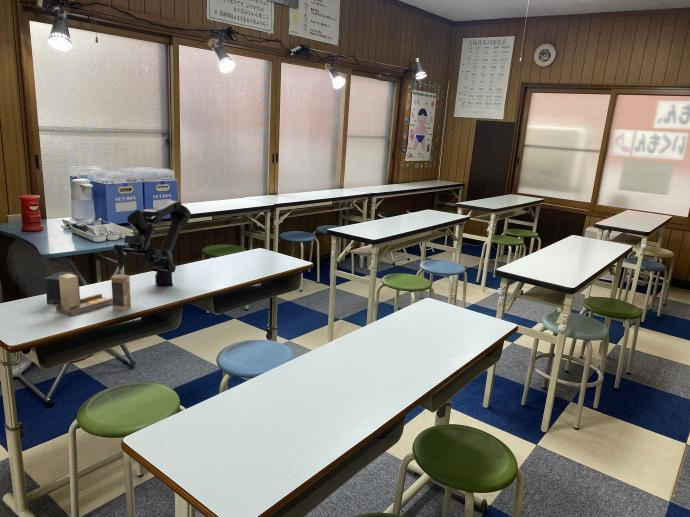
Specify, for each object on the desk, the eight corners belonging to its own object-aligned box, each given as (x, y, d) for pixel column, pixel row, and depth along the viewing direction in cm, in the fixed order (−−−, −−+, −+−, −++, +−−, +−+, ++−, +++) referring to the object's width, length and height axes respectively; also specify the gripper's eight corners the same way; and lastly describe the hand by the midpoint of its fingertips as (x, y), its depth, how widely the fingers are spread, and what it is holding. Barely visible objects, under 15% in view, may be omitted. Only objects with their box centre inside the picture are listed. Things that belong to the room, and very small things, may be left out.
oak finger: (119, 305, 198) (117, 274, 195) (130, 307, 198) (129, 275, 194) (112, 309, 194) (110, 277, 191) (124, 311, 193) (122, 278, 190)
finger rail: (100, 298, 205) (98, 265, 202) (115, 303, 201) (113, 269, 197) (56, 311, 189) (52, 275, 186) (71, 316, 185) (68, 279, 182)
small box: (62, 305, 196) (60, 279, 193) (46, 304, 196) (43, 278, 193) (77, 296, 206) (75, 272, 203) (61, 295, 206) (59, 271, 203)
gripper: (112, 224, 202) (98, 259, 195) (155, 228, 199) (142, 264, 192) (126, 238, 211) (112, 271, 205) (167, 242, 208) (155, 276, 202)
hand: (130, 270), depth 200 cm, fingers open, 9 cm apart
